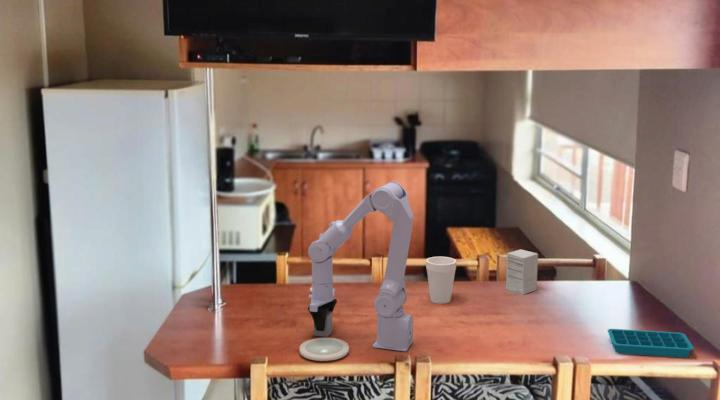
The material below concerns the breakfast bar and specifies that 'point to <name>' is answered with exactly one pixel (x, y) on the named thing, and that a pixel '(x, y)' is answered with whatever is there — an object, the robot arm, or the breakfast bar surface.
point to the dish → (324, 349)
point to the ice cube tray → (650, 343)
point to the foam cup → (440, 278)
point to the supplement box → (521, 271)
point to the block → (327, 328)
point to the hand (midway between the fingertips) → (323, 327)
